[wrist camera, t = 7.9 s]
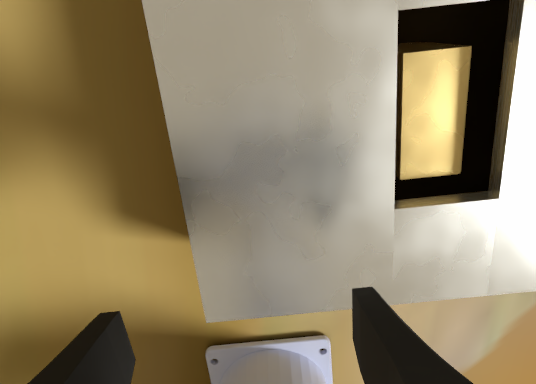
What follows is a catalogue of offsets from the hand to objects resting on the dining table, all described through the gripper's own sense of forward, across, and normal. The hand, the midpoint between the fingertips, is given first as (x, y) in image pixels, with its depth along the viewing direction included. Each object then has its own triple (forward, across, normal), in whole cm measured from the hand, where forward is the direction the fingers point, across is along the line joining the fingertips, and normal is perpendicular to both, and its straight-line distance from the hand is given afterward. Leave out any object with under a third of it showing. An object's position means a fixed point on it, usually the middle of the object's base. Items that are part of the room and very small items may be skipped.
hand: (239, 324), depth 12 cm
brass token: (+11, -8, -4) cm, 14 cm away
